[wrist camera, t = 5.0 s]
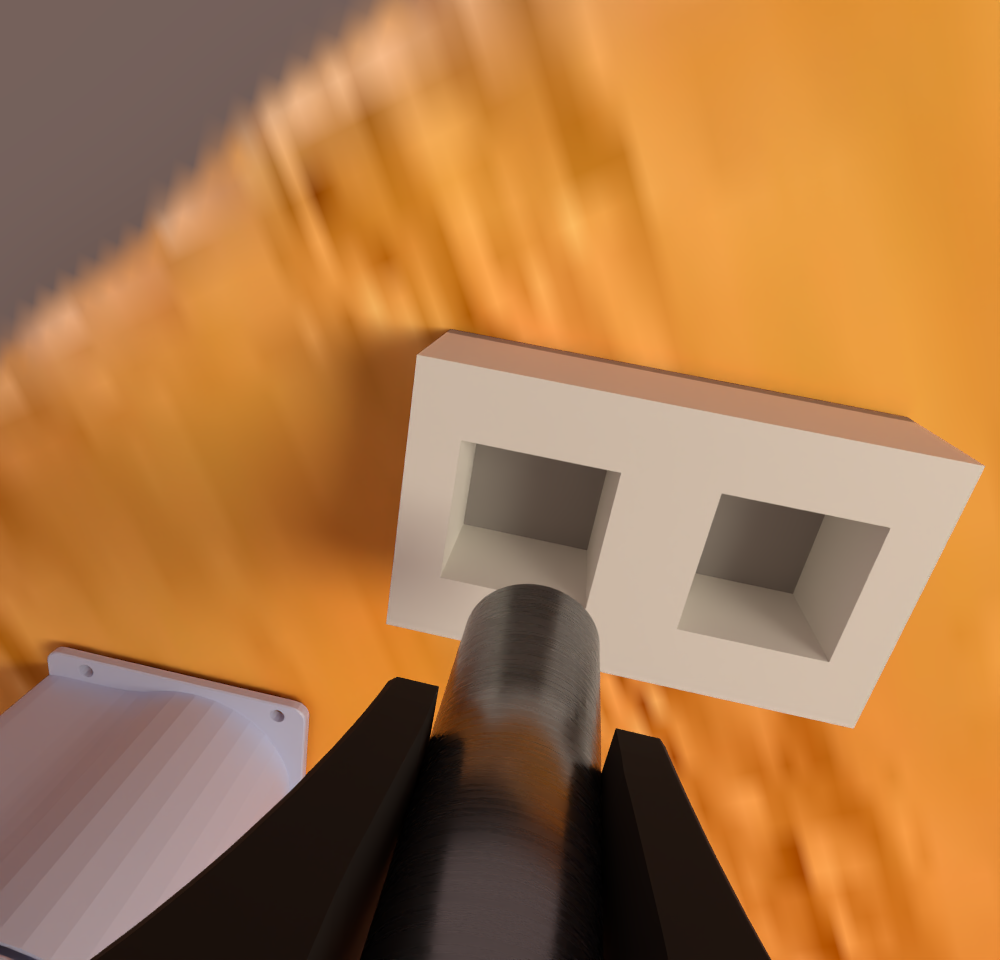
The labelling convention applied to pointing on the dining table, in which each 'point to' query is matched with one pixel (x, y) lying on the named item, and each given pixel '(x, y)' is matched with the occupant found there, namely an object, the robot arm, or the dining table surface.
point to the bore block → (673, 519)
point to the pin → (506, 797)
